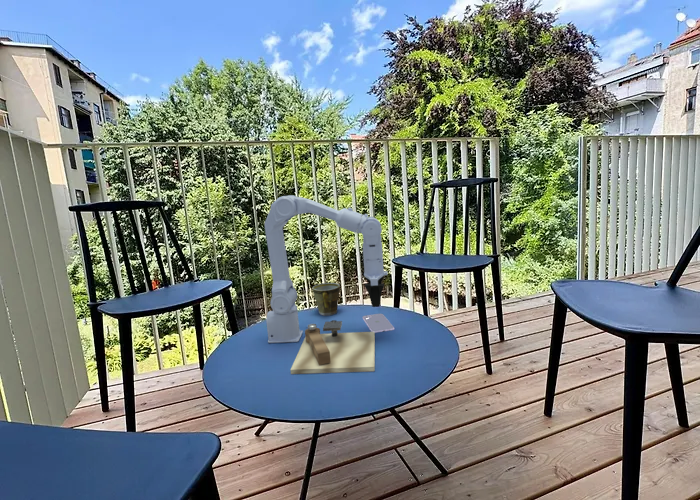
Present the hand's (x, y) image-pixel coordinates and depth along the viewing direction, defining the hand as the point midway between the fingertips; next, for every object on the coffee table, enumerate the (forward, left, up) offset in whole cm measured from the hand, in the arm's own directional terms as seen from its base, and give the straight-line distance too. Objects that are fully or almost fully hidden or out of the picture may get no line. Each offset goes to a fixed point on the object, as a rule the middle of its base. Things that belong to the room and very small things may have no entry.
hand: (375, 302), depth 112 cm
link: (-17, -12, -9) cm, 23 cm away
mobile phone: (0, +9, -11) cm, 14 cm away
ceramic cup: (-18, +20, -10) cm, 29 cm away
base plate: (-11, -12, -10) cm, 19 cm away
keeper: (-15, -5, -9) cm, 18 cm away
